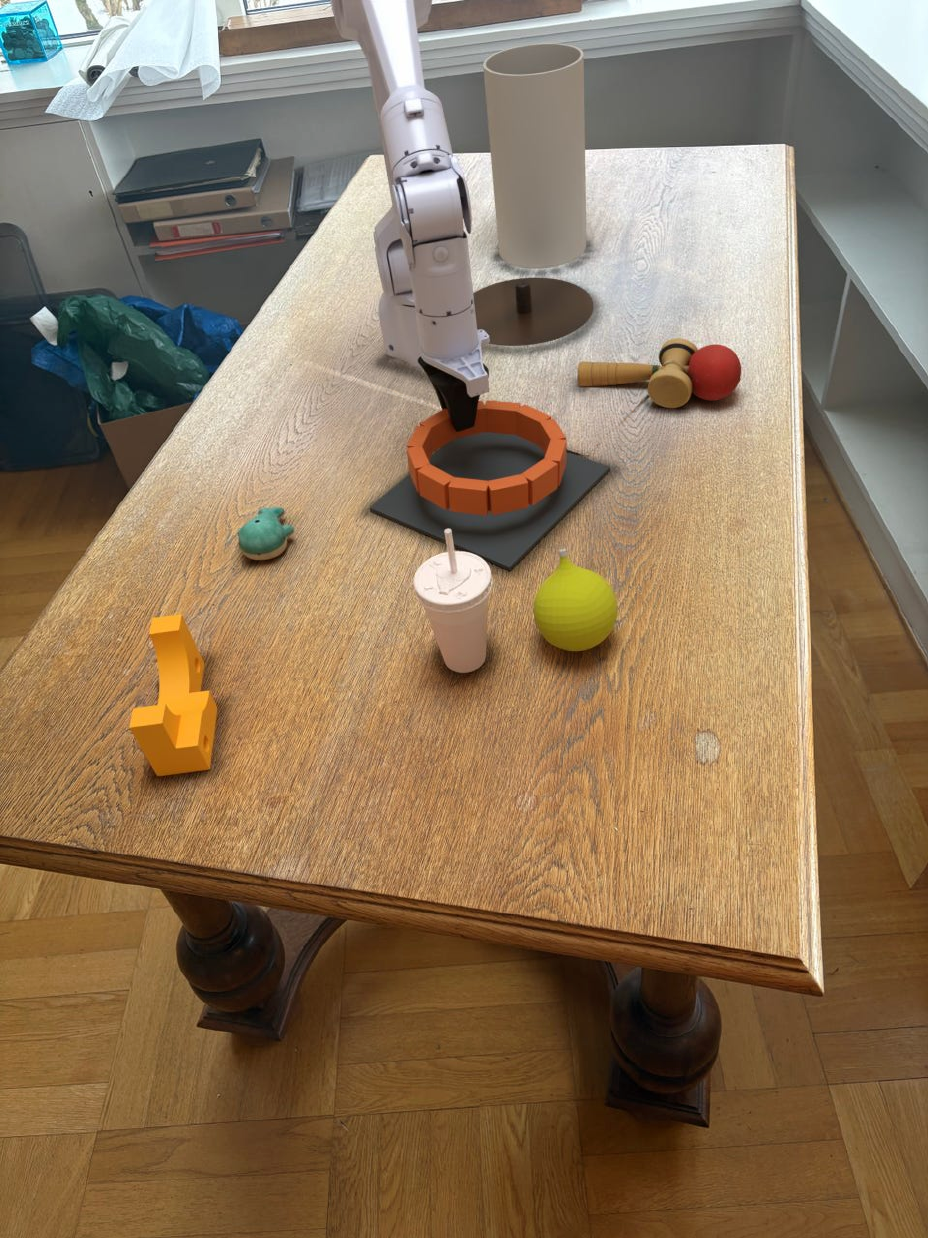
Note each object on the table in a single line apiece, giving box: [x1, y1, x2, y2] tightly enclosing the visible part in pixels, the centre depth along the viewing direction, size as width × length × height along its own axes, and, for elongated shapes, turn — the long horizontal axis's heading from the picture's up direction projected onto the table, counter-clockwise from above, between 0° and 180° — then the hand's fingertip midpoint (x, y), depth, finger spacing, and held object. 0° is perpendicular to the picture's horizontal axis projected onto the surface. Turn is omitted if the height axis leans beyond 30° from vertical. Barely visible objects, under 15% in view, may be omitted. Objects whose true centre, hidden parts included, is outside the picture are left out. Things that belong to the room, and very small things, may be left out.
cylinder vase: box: [482, 42, 588, 269], centre depth 127 cm, size 12×12×25 cm
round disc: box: [473, 277, 595, 347], centre depth 123 cm, size 18×18×4 cm
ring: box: [406, 399, 568, 516], centre depth 96 cm, size 16×16×3 cm
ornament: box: [532, 536, 618, 652], centre depth 80 cm, size 7×7×10 cm
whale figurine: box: [237, 506, 295, 561], centre depth 96 cm, size 6×7×4 cm
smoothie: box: [413, 529, 494, 674], centre depth 78 cm, size 6×6×14 cm
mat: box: [369, 432, 611, 572], centre depth 99 cm, size 18×18×1 cm
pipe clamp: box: [128, 613, 218, 777], centre depth 79 cm, size 12×4×6 cm, turn 5°
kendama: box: [577, 337, 742, 409], centre depth 107 cm, size 8×6×18 cm
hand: (460, 422), depth 101 cm, fingers closed on ring, 2 cm apart
